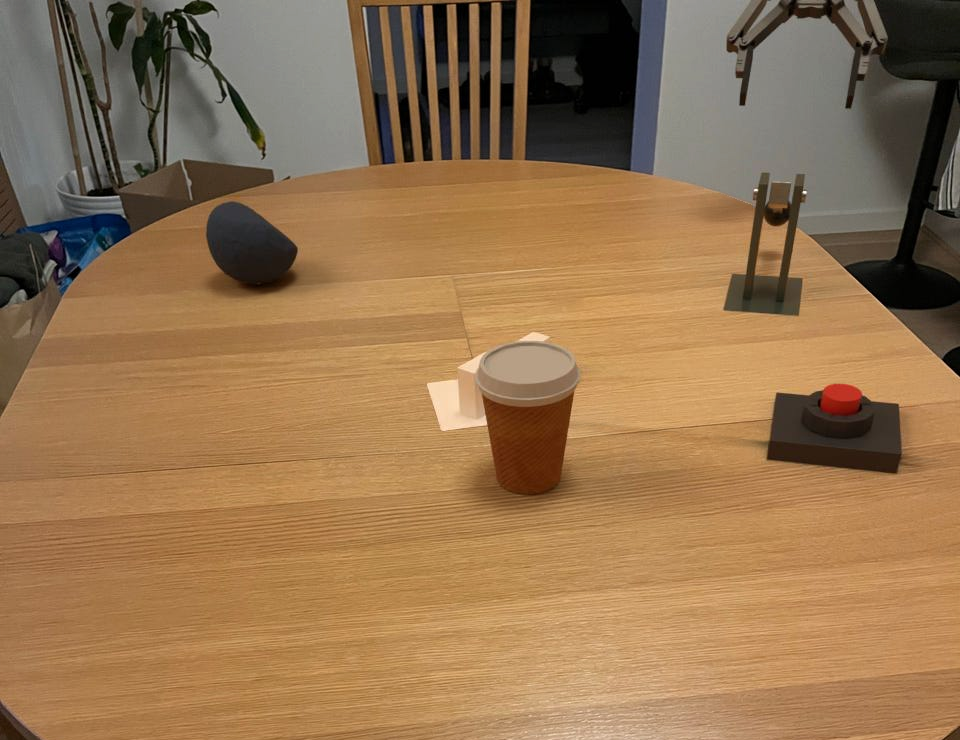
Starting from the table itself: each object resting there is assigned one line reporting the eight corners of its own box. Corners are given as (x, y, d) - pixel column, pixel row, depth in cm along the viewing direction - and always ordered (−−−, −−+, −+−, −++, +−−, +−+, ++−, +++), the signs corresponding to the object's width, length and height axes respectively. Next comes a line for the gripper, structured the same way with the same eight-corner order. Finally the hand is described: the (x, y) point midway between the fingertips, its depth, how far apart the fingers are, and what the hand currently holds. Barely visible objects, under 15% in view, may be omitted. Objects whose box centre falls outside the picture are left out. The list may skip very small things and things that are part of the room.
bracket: (730, 282, 127) (746, 162, 117) (801, 287, 125) (823, 165, 115) (721, 319, 119) (738, 193, 109) (797, 325, 116) (821, 197, 107)
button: (858, 401, 95) (862, 385, 94) (858, 419, 92) (862, 402, 91) (820, 398, 96) (823, 381, 94) (819, 415, 93) (822, 399, 92)
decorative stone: (242, 305, 128) (226, 228, 121) (202, 281, 135) (184, 206, 129) (317, 281, 133) (306, 206, 127) (275, 259, 140) (261, 186, 134)
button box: (893, 423, 98) (903, 386, 96) (896, 474, 91) (907, 436, 89) (772, 411, 101) (779, 375, 99) (766, 459, 94) (773, 423, 92)
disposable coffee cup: (464, 493, 92) (457, 377, 84) (500, 445, 98) (497, 332, 90) (559, 511, 89) (561, 393, 81) (590, 460, 95) (594, 345, 87)
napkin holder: (553, 366, 111) (553, 318, 107) (580, 412, 103) (581, 362, 99) (425, 383, 109) (420, 335, 105) (441, 432, 101) (438, 381, 97)
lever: (761, 227, 129) (765, 198, 128) (789, 228, 128) (793, 199, 127) (761, 209, 113) (766, 175, 112) (793, 210, 112) (798, 176, 111)
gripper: (915, -34, 128) (890, 120, 127) (724, -33, 134) (699, 115, 133) (928, -79, 121) (901, 85, 120) (725, -76, 126) (699, 80, 126)
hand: (795, 101), depth 126 cm, fingers open, 13 cm apart
